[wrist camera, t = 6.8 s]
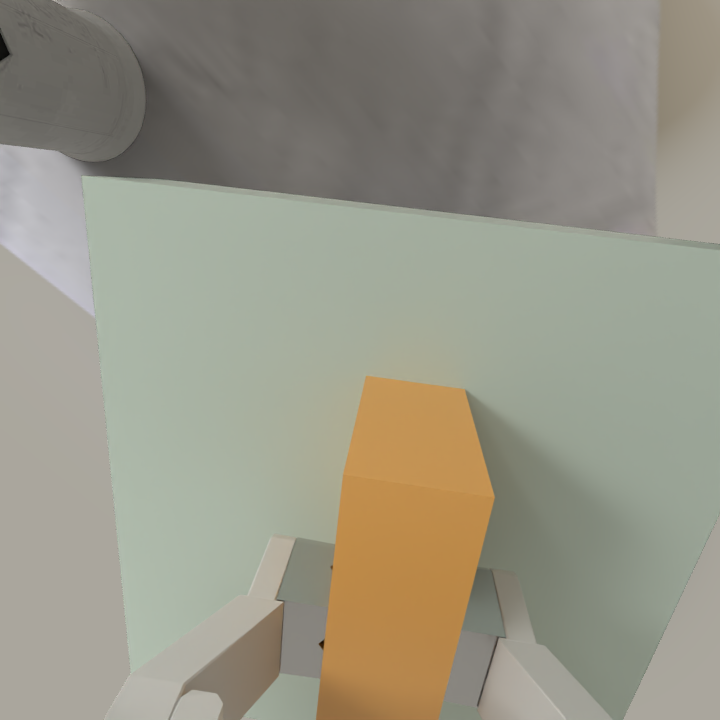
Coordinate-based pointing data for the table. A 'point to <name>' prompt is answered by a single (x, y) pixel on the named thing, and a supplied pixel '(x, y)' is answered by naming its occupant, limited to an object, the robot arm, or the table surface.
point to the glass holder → (67, 82)
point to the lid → (403, 427)
